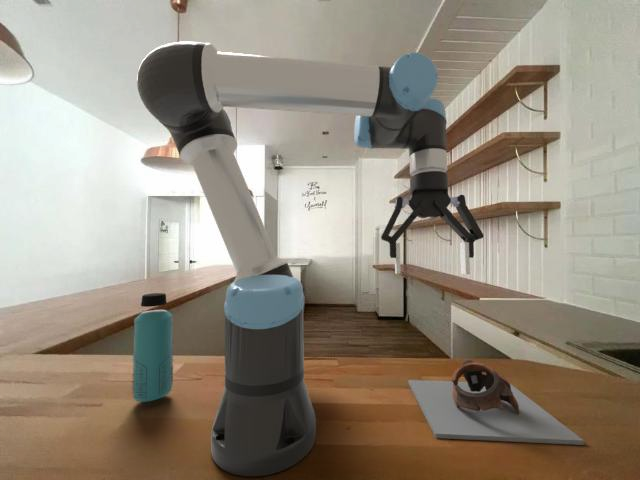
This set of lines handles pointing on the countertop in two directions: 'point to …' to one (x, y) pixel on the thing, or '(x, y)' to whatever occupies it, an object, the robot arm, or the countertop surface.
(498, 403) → the broken terracotta jug
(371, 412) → the countertop surface
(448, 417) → the gray mat
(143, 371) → the beverage bottle
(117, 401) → the countertop surface
